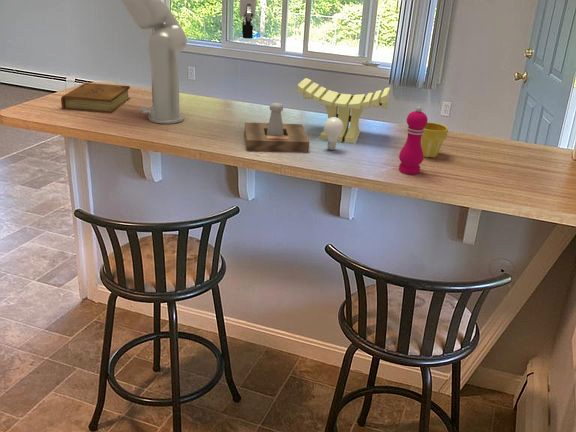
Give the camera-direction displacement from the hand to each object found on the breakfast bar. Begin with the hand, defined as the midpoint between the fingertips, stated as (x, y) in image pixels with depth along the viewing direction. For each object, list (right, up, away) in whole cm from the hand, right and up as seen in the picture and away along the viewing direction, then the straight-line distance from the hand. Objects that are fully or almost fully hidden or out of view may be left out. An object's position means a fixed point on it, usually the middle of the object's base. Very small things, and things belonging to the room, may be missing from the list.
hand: (247, 35), depth 192 cm
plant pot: (+60, -40, -1) cm, 72 cm away
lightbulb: (+28, -39, -3) cm, 48 cm away
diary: (-60, -17, +32) cm, 70 cm away
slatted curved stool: (+32, -31, +13) cm, 47 cm away
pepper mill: (+51, -47, -16) cm, 71 cm away
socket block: (+9, -35, +1) cm, 36 cm away
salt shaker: (+9, -35, +2) cm, 37 cm away
